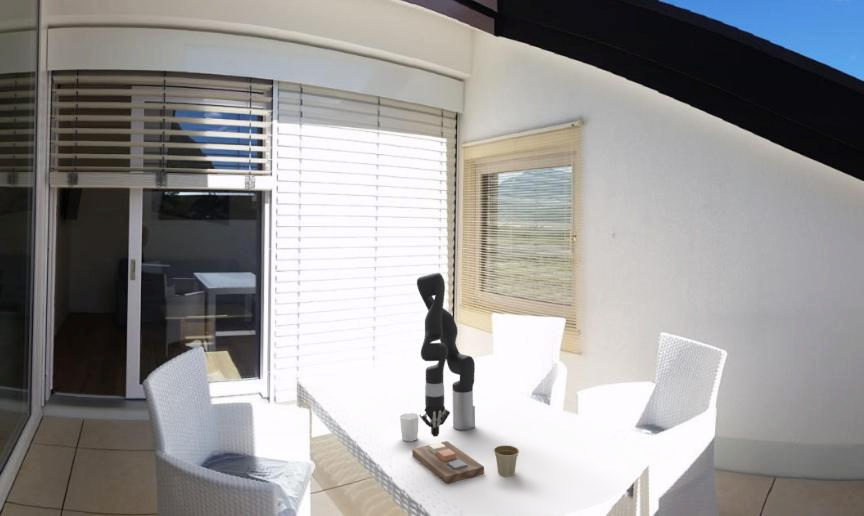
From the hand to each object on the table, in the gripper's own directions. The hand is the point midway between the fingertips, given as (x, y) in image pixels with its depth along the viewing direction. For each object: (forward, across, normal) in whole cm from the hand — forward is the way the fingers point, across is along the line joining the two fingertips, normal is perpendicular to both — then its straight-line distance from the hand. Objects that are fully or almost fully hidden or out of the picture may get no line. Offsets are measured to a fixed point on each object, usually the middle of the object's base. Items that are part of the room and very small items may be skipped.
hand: (435, 435), depth 224 cm
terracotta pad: (+7, -1, +8) cm, 11 cm away
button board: (+9, -1, +8) cm, 12 cm away
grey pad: (+8, -1, +16) cm, 18 cm away
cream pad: (+7, -1, 0) cm, 7 cm away
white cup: (+9, +1, -23) cm, 24 cm away
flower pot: (+9, -17, +25) cm, 32 cm away
